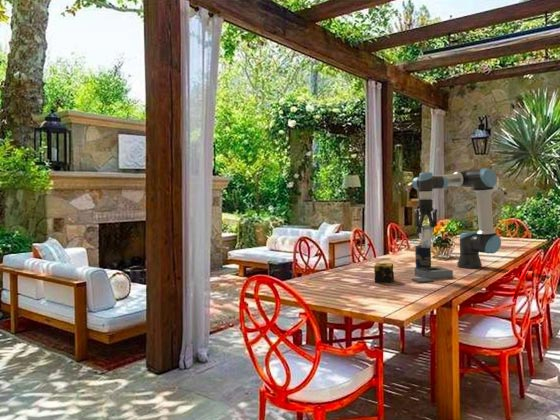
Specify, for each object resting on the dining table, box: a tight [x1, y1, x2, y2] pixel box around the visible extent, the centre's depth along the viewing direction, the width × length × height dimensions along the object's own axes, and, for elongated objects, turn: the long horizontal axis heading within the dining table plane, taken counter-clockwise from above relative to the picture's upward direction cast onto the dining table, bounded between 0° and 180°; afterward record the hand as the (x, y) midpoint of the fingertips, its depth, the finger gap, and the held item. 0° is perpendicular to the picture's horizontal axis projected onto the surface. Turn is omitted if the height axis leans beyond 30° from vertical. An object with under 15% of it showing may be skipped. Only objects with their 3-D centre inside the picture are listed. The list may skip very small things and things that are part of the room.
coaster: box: [411, 277, 435, 284], centre depth 276 cm, size 9×9×1 cm
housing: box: [414, 265, 454, 280], centre depth 289 cm, size 16×16×4 cm
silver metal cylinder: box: [420, 224, 432, 249], centre depth 281 cm, size 6×6×13 cm
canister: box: [414, 244, 432, 268], centre depth 304 cm, size 10×10×18 cm
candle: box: [373, 262, 395, 284], centre depth 279 cm, size 10×10×10 cm
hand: (426, 238), depth 281 cm, fingers closed on silver metal cylinder, 6 cm apart
